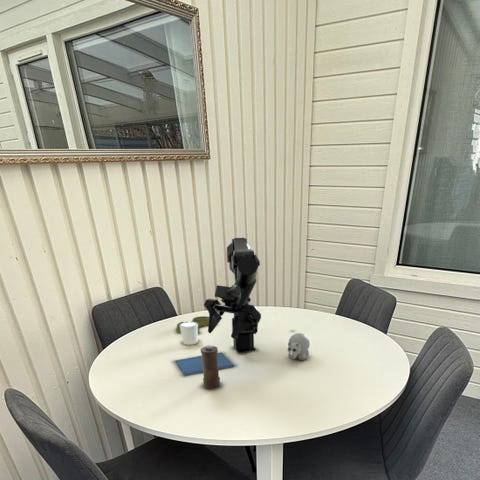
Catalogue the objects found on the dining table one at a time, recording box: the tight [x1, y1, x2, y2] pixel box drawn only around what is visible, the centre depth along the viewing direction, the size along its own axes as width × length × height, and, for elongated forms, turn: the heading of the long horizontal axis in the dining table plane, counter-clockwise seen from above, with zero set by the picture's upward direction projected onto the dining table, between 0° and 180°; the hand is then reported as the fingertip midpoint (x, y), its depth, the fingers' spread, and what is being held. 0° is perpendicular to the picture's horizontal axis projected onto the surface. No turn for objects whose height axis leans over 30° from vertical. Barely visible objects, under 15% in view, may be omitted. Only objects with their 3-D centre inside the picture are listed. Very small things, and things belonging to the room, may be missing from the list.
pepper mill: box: [200, 344, 221, 390], centre depth 122 cm, size 5×5×12 cm
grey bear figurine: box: [287, 332, 311, 361], centre depth 138 cm, size 7×12×8 cm, turn 152°
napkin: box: [174, 352, 235, 377], centre depth 140 cm, size 17×13×1 cm
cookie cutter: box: [176, 315, 209, 335], centre depth 172 cm, size 18×12×2 cm, turn 149°
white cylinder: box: [179, 321, 199, 346], centre depth 156 cm, size 7×7×7 cm
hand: (220, 334), depth 124 cm, fingers open, 9 cm apart
